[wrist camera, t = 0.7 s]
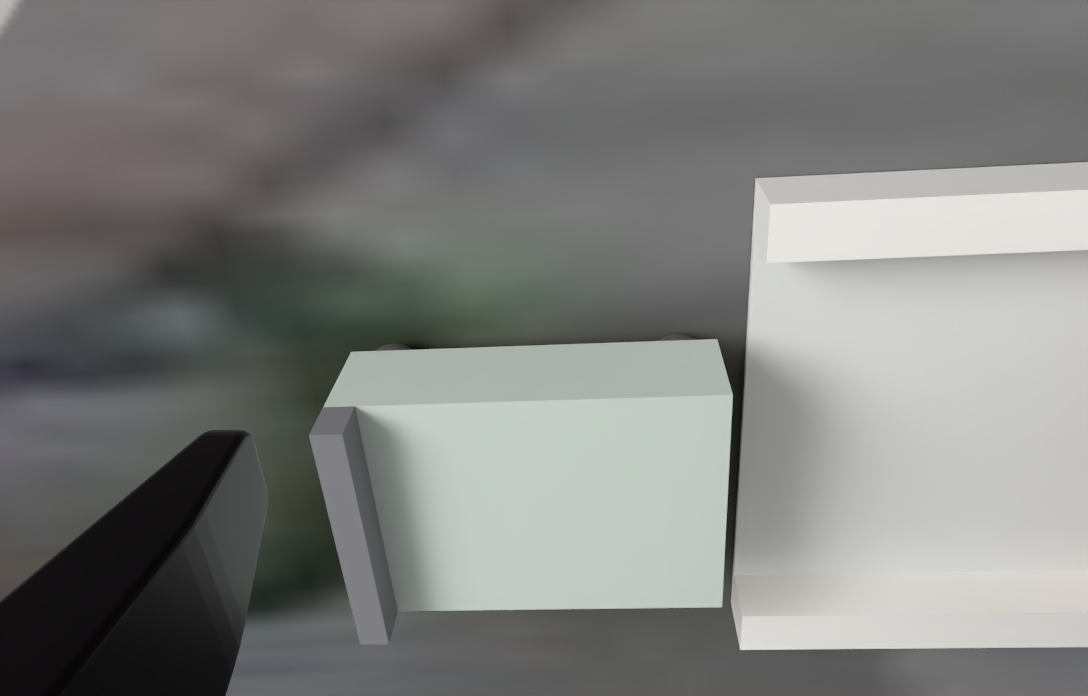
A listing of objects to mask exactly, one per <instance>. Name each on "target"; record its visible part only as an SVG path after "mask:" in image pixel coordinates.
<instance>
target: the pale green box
mask: <svg viewBox="0 0 1088 696" xmlns="http://www.w3.org/2000/svg"><path fill="white" fill-rule="evenodd" d="M732 403H733V393H732V390H731V386H730V383H729V379H728V376H727V372H726V369H725V365H724V361H723V358H722V354H721V351H720V347H719V344H718V340H717V339H704V340H696V339H695V338H693V337H691V336H689V335H687V334H682V333H673V334H669V335H666V336H664V337H663V338H661V339H660V340H658V341H647V342H618V343H590V344H561V345H533V346H504V347H476V348H447V349H419V350H413V349H411V348H410V347H408V346H406V345H403V344H398V343H391V344H386V345H384V346H382V347H380V348H378V349H377V350H376V351H362V352H351V354H350V356H349V357H348V359H347V361H346V363H345V365H344V367H343V369H342V371H341V373H340V375H339V377H338V379H337V381H336V383H335V385H334V387H333V389H332V391H331V393H330V395H329V397H328V399H327V401H326V403H325V405H324V407H323V409H322V411H321V413H320V415H319V417H318V418H317V420H316V422H315V424H314V426H313V428H312V430H311V432H310V434H309V437H310V442H311V446H312V450H313V454H314V458H315V462H316V466H317V470H318V474H319V478H320V482H321V486H322V490H323V495H324V499H325V503H326V507H327V511H328V515H329V519H330V523H331V527H332V531H333V535H334V539H335V544H336V548H337V552H338V556H339V560H340V564H341V568H342V572H343V576H344V580H345V584H346V588H347V593H348V597H349V601H350V605H351V609H352V613H353V617H354V621H355V625H356V629H357V633H358V637H359V642H360V645H375V644H389V642H390V638H391V634H392V630H393V627H394V623H395V619H396V615H397V612H398V611H450V610H535V609H619V608H704V607H722V598H723V579H724V559H725V540H726V520H727V501H728V481H729V462H730V442H731V423H732Z"/></svg>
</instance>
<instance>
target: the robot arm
mask: <svg viewBox="0 0 1088 696" xmlns="http://www.w3.org/2000/svg"><path fill="white" fill-rule="evenodd" d="M267 502H268V495H267V487H266V483H265V479H264V476H263V472H262V469H261V465H260V461H259V458H258V454H257V451H256V447H255V444H254V441H253V439H252V437H251V435H250V434H249V433H247V432H245V431H241V430H212V431H207V432H205V433H203V434H202V435H200V436H199V437H198V438H197V439H195V440H194V441H193V442H192V443H190V444H189V445H188V446H187V447H186V448H184V449H183V450H182V451H181V452H180V453H178V454H177V455H176V456H175V457H174V458H172V459H171V460H170V461H169V462H168V463H166V464H165V465H164V466H163V467H161V468H160V469H159V470H158V471H157V472H155V473H154V474H153V475H152V476H151V477H149V478H148V479H147V480H146V481H145V482H143V483H142V484H141V485H140V486H139V487H137V488H136V489H135V490H134V491H132V492H131V493H130V494H129V495H128V496H126V497H125V498H124V499H123V500H122V501H120V502H119V503H118V504H117V505H116V506H114V507H113V508H112V509H111V510H109V511H108V512H107V513H106V514H105V515H103V516H102V517H101V518H100V519H99V520H97V521H96V522H95V523H94V524H93V525H91V526H90V527H89V528H88V529H87V530H85V531H84V532H83V533H82V534H80V535H79V536H78V537H77V538H76V539H74V540H73V541H72V542H71V543H70V544H68V545H67V546H66V547H65V548H64V549H62V550H61V551H60V552H59V553H58V554H56V555H55V556H54V557H53V558H51V559H50V560H49V561H48V562H47V563H45V564H44V565H43V566H42V567H41V568H39V569H38V570H37V571H36V572H35V573H33V574H32V575H31V576H30V577H29V578H27V579H26V580H25V581H24V582H22V583H21V584H20V585H19V586H18V587H16V588H15V589H14V590H13V591H12V592H10V593H9V594H8V595H7V596H6V597H4V598H3V599H2V600H1V601H0V696H225V695H226V692H227V689H228V686H229V682H230V679H231V676H232V673H233V669H234V666H235V662H236V659H237V655H238V652H239V648H240V644H241V639H242V635H243V630H244V625H245V620H246V615H247V610H248V605H249V599H250V594H251V589H252V584H253V579H254V574H255V568H256V563H257V558H258V553H259V548H260V543H261V537H262V532H263V527H264V522H265V517H266V511H267Z"/></svg>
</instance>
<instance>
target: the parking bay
mask: <svg viewBox="0 0 1088 696" xmlns="http://www.w3.org/2000/svg"><path fill="white" fill-rule="evenodd" d="M731 606H732V611H733V616H734V621H735V626H736V632H737V637H738V642H739V647H740V650H783V649H906V648H1029V647H1088V162H1079V163H1059V164H1038V165H1018V166H997V167H977V168H956V169H936V170H916V171H895V172H875V173H854V174H834V175H813V176H793V177H772V178H756V180H755V198H754V215H753V232H752V249H751V266H750V284H749V301H748V318H747V335H746V352H745V369H744V387H743V404H742V421H741V438H740V455H739V473H738V490H737V507H736V524H735V541H734V559H733V576H732V593H731Z"/></svg>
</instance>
